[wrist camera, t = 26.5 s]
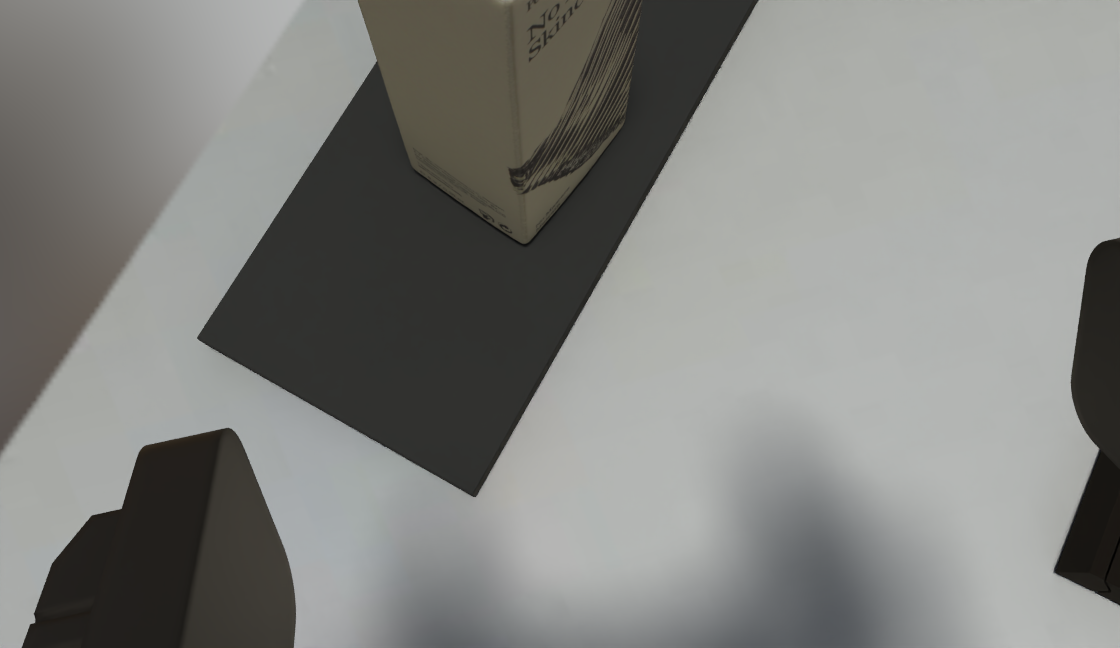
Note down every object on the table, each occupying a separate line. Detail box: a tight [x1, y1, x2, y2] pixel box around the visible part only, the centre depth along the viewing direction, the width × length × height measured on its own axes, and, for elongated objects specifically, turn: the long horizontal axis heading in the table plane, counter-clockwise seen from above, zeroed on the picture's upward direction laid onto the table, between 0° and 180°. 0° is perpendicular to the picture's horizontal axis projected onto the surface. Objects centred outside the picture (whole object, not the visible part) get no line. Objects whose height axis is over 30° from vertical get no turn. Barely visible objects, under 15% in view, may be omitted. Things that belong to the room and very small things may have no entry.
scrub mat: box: [197, 0, 758, 497], centre depth 31 cm, size 20×9×1 cm, turn 151°
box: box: [358, 0, 643, 244], centre depth 24 cm, size 5×4×13 cm
